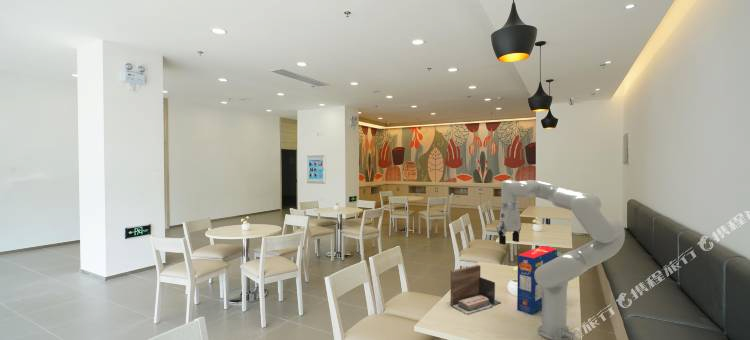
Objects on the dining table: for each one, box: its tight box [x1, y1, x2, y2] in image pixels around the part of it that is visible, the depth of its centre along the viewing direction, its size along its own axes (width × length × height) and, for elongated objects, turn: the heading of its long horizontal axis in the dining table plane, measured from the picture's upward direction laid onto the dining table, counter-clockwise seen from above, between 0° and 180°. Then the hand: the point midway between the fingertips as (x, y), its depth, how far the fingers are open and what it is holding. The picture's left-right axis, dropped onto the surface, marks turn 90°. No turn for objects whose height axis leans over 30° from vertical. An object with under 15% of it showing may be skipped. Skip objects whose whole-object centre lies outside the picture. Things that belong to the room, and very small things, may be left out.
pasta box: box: [516, 245, 558, 316], centre depth 185 cm, size 28×8×28 cm, turn 132°
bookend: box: [479, 276, 502, 306], centre depth 190 cm, size 10×6×12 cm, turn 32°
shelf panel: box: [450, 264, 481, 307], centre depth 189 cm, size 2×20×18 cm, turn 122°
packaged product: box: [452, 295, 494, 316], centre depth 182 cm, size 18×5×10 cm
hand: (509, 242), depth 168 cm, fingers open, 9 cm apart
